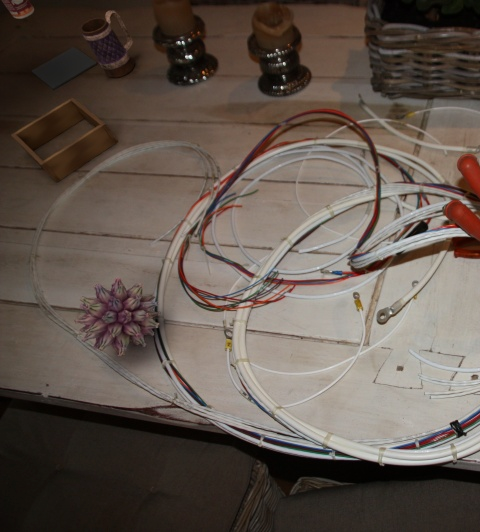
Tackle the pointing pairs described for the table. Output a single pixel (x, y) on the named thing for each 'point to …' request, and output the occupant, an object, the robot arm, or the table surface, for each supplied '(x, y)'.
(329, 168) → the table surface
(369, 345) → the table surface
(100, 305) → the flower
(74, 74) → the mat
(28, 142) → the storage box
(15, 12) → the pill bottle
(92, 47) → the mug
